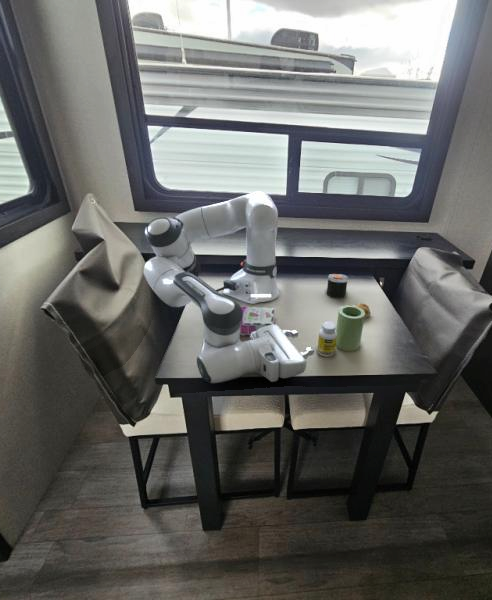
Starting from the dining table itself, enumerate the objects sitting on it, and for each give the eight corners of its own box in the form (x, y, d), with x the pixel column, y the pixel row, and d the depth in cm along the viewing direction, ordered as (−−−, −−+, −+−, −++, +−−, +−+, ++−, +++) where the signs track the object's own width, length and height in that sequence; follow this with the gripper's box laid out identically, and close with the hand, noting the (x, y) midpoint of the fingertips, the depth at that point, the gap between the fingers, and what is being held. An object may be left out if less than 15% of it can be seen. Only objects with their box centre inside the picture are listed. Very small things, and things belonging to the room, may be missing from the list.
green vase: (332, 347, 100) (336, 314, 94) (338, 333, 106) (342, 303, 101) (356, 353, 98) (362, 320, 92) (361, 339, 104) (367, 308, 99)
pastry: (354, 323, 113) (355, 314, 111) (341, 315, 117) (342, 306, 115) (371, 315, 118) (373, 307, 116) (358, 308, 123) (359, 299, 121)
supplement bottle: (322, 358, 94) (325, 331, 90) (314, 348, 99) (316, 322, 94) (337, 355, 97) (341, 328, 92) (329, 344, 101) (332, 318, 96)
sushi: (345, 298, 129) (348, 281, 125) (325, 296, 130) (327, 278, 126) (346, 290, 136) (348, 273, 132) (327, 288, 137) (329, 271, 133)
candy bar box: (221, 335, 102) (272, 337, 103) (220, 322, 100) (272, 324, 100) (228, 317, 112) (274, 318, 112) (227, 305, 109) (274, 306, 110)
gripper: (247, 342, 96) (288, 331, 102) (275, 386, 80) (321, 371, 86) (247, 325, 92) (289, 315, 99) (275, 367, 77) (323, 352, 83)
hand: (304, 341), depth 92 cm, fingers open, 8 cm apart
